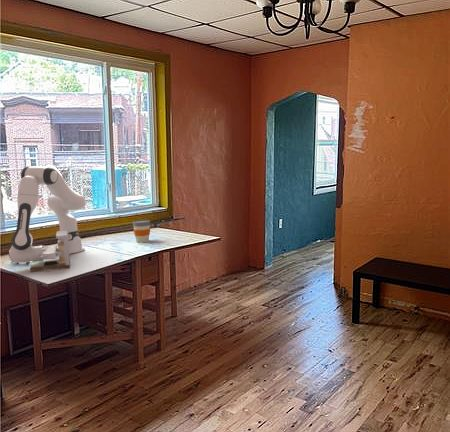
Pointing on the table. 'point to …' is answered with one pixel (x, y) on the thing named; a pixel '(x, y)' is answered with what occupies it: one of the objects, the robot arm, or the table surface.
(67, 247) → the grey tunnel
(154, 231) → the table surface
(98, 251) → the table surface
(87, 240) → the table surface
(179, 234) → the table surface
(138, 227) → the reusable coffee cup
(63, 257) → the beech block
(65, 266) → the walnut board
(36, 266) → the sage pad
